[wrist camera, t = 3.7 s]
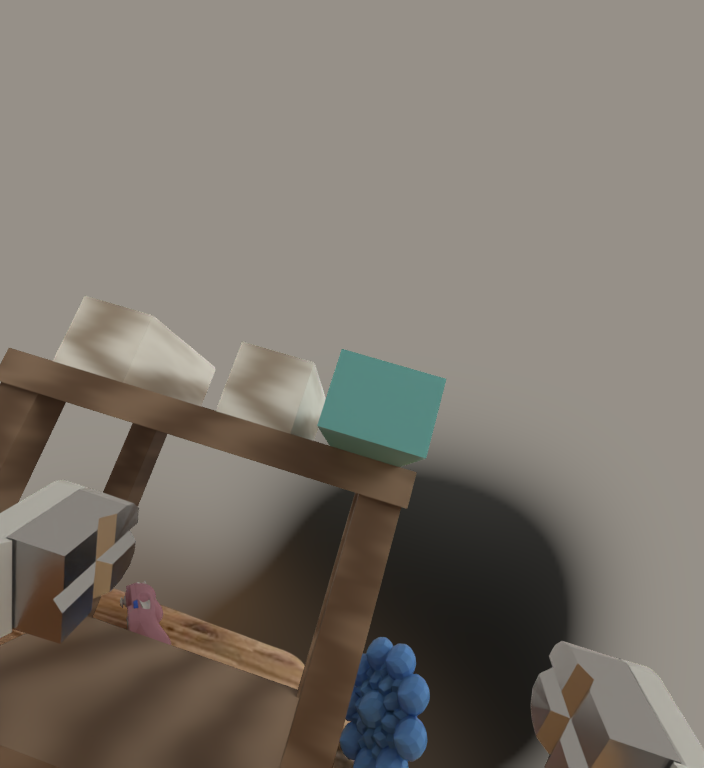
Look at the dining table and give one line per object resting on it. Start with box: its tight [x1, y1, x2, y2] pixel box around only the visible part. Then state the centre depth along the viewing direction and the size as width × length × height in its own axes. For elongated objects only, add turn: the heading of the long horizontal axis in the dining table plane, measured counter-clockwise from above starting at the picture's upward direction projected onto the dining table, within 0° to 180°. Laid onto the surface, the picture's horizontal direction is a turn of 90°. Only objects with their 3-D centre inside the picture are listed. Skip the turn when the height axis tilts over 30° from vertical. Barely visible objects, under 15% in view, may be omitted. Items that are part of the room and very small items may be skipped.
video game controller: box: [120, 581, 171, 645], centre depth 48 cm, size 10×5×7 cm, turn 32°
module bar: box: [317, 349, 446, 467], centre depth 26 cm, size 4×24×3 cm, turn 0°
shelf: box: [0, 296, 416, 768], centre depth 30 cm, size 25×18×31 cm
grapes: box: [340, 637, 430, 768], centre depth 38 cm, size 12×7×12 cm, turn 29°
